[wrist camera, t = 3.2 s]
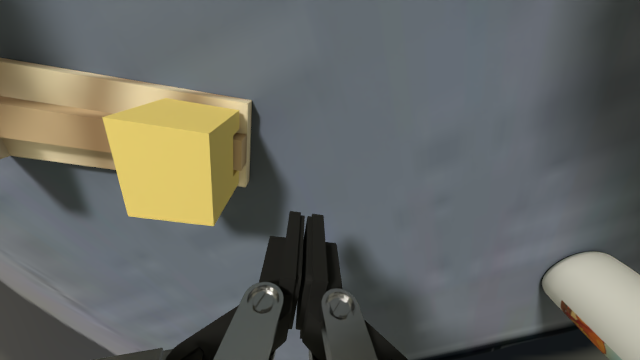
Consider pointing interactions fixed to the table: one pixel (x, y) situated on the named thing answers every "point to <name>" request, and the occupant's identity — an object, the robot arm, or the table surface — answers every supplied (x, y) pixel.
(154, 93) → the rail
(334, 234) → the table surface
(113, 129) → the block
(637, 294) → the milk bottle
